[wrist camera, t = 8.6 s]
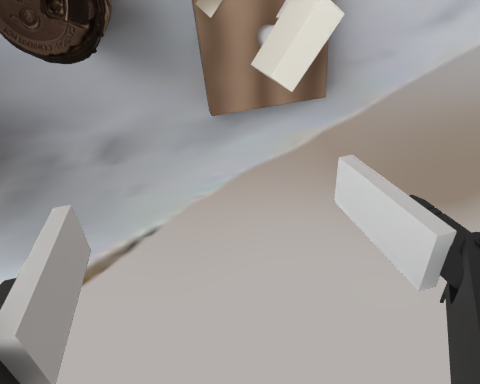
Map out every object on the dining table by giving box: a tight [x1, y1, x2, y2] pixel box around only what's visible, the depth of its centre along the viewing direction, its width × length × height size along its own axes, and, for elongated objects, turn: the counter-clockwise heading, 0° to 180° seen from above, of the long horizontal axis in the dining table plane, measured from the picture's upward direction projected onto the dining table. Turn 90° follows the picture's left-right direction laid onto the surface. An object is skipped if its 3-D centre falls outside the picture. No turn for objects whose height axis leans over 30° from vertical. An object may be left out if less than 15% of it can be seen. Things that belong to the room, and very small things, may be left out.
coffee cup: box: [0, 0, 111, 64], centre depth 26 cm, size 9×8×13 cm
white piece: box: [251, 0, 345, 92], centre depth 29 cm, size 2×12×12 cm, turn 146°
